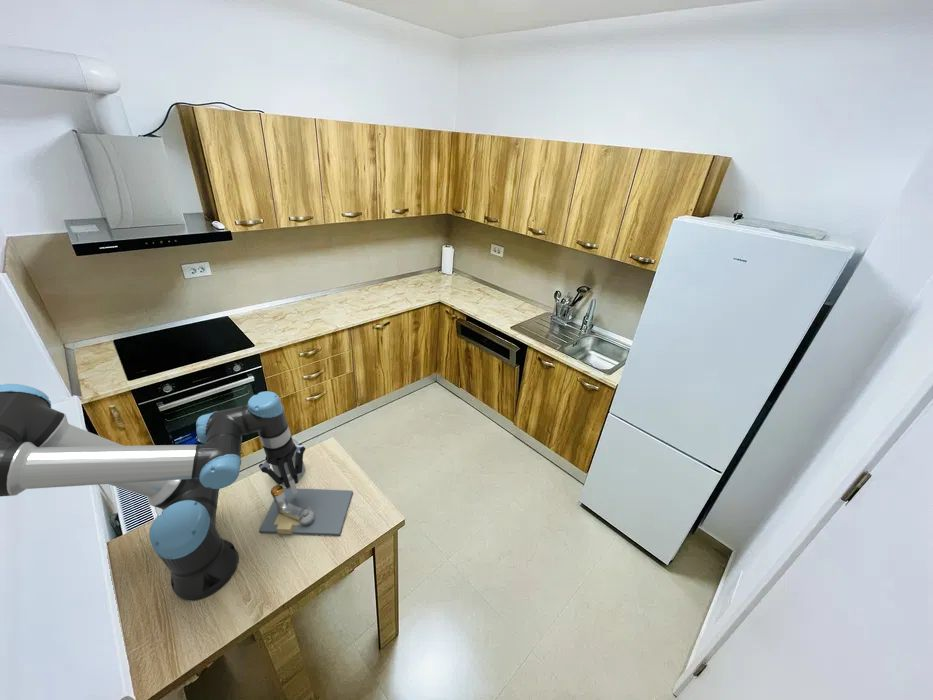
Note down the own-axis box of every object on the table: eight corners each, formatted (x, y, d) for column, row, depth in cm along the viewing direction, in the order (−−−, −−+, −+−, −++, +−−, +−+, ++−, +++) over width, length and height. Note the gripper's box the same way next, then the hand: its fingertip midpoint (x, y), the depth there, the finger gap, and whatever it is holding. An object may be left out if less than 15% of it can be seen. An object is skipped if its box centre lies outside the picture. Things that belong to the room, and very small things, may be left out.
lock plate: (258, 535, 110) (254, 524, 107) (280, 490, 123) (277, 479, 120) (339, 537, 111) (337, 527, 108) (352, 492, 124) (351, 482, 121)
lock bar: (317, 515, 115) (312, 496, 110) (308, 528, 111) (302, 508, 106) (284, 501, 118) (277, 482, 113) (274, 513, 115) (266, 493, 109)
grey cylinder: (270, 475, 128) (261, 450, 121) (294, 458, 135) (288, 434, 128) (286, 489, 124) (278, 465, 117) (311, 471, 130) (304, 447, 124)
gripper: (293, 421, 111) (308, 472, 124) (247, 443, 103) (268, 495, 116) (305, 435, 106) (318, 486, 119) (257, 459, 98) (277, 511, 112)
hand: (293, 490), depth 118 cm, fingers closed
